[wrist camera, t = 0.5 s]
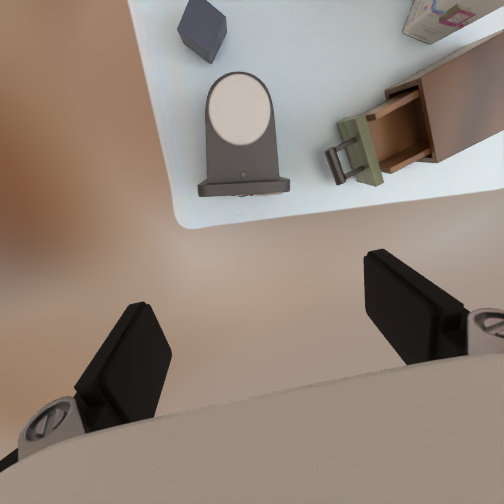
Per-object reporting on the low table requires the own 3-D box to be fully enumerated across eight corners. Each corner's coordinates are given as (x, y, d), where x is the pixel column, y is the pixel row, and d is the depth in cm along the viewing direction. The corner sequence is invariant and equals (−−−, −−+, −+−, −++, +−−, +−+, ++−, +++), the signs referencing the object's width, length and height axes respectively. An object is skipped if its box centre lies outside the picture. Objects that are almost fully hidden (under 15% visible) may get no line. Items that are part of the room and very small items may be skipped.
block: (198, 8, 30) (193, -11, 26) (226, 32, 31) (225, 16, 27) (183, 43, 31) (176, 29, 28) (211, 64, 32) (208, 53, 29)
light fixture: (275, 92, 35) (292, 63, 24) (277, 189, 39) (291, 198, 29) (197, 95, 34) (181, 67, 24) (207, 193, 39) (198, 204, 28)
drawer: (332, 193, 39) (347, 201, 34) (310, 137, 36) (323, 135, 30) (421, 148, 37) (451, 148, 32) (407, 83, 34) (439, 72, 29)
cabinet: (401, 160, 39) (437, 163, 32) (384, 90, 35) (420, 77, 28) (474, 123, 37) (528, 117, 30) (465, 45, 33) (524, 20, 26)
